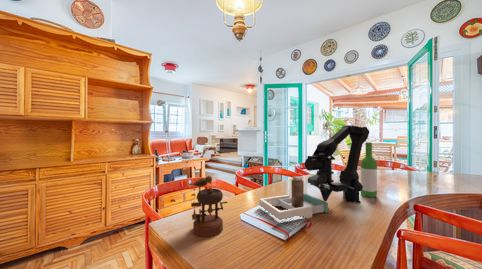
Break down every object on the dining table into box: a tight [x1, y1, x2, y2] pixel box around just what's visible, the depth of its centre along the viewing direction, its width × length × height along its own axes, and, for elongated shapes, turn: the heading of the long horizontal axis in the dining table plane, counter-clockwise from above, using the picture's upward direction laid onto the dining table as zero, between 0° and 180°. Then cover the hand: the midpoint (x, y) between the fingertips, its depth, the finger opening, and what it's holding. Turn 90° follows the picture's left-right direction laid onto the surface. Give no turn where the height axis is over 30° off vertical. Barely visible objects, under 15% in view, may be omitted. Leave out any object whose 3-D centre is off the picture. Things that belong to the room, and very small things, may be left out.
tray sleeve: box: [258, 194, 313, 220], centre depth 86 cm, size 16×17×4 cm
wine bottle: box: [360, 141, 378, 198], centre depth 109 cm, size 8×8×30 cm
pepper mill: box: [291, 176, 305, 208], centre depth 88 cm, size 5×5×14 cm
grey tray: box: [279, 192, 329, 215], centre depth 89 cm, size 16×15×4 cm
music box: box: [188, 175, 228, 239], centre depth 71 cm, size 15×11×20 cm
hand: (325, 201), depth 95 cm, fingers closed
